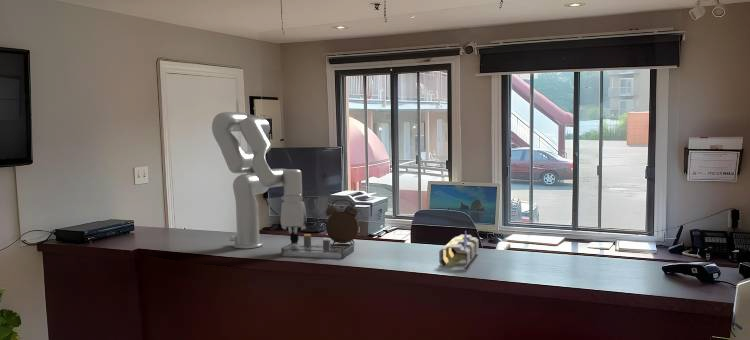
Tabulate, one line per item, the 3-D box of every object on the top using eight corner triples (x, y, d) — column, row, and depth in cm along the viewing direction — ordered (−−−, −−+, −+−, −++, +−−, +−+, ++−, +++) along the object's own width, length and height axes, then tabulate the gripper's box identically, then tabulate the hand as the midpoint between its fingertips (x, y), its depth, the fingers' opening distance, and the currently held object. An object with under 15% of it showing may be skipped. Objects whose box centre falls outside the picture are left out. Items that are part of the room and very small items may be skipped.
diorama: (467, 269, 194) (467, 232, 193) (439, 267, 198) (438, 231, 197) (478, 254, 218) (478, 222, 217) (452, 253, 221) (452, 221, 220)
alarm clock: (360, 242, 244) (359, 198, 243) (358, 246, 237) (357, 200, 236) (328, 242, 246) (327, 198, 245) (325, 246, 239) (324, 200, 237)
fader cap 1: (303, 245, 227) (303, 234, 227) (305, 245, 229) (305, 234, 229) (309, 246, 227) (309, 235, 227) (311, 245, 229) (310, 234, 228)
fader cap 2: (323, 250, 218) (322, 238, 218) (324, 249, 220) (324, 238, 219) (329, 250, 217) (328, 239, 217) (330, 249, 219) (330, 238, 219)
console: (281, 256, 220) (281, 248, 220) (295, 249, 233) (295, 241, 233) (343, 258, 213) (343, 250, 213) (354, 251, 227) (353, 243, 226)
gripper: (272, 199, 227) (274, 244, 228) (306, 200, 223) (307, 245, 224) (280, 197, 234) (281, 240, 235) (313, 198, 230) (314, 241, 231)
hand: (294, 242), depth 229 cm, fingers closed
